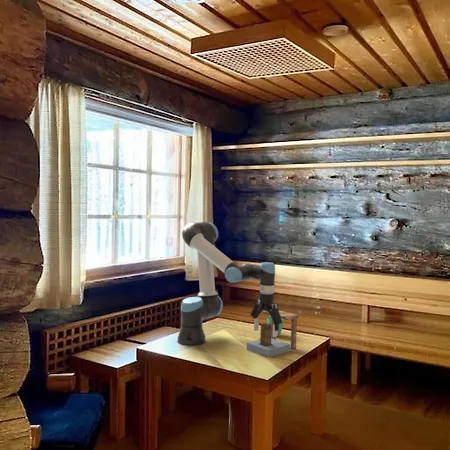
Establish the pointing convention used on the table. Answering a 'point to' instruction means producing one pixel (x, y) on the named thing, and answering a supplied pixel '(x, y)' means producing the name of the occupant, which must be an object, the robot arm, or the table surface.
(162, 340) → the table surface
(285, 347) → the socket block
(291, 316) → the wooden arch frame
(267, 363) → the table surface
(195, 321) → the robot arm
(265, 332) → the peg
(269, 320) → the green tapered vase
